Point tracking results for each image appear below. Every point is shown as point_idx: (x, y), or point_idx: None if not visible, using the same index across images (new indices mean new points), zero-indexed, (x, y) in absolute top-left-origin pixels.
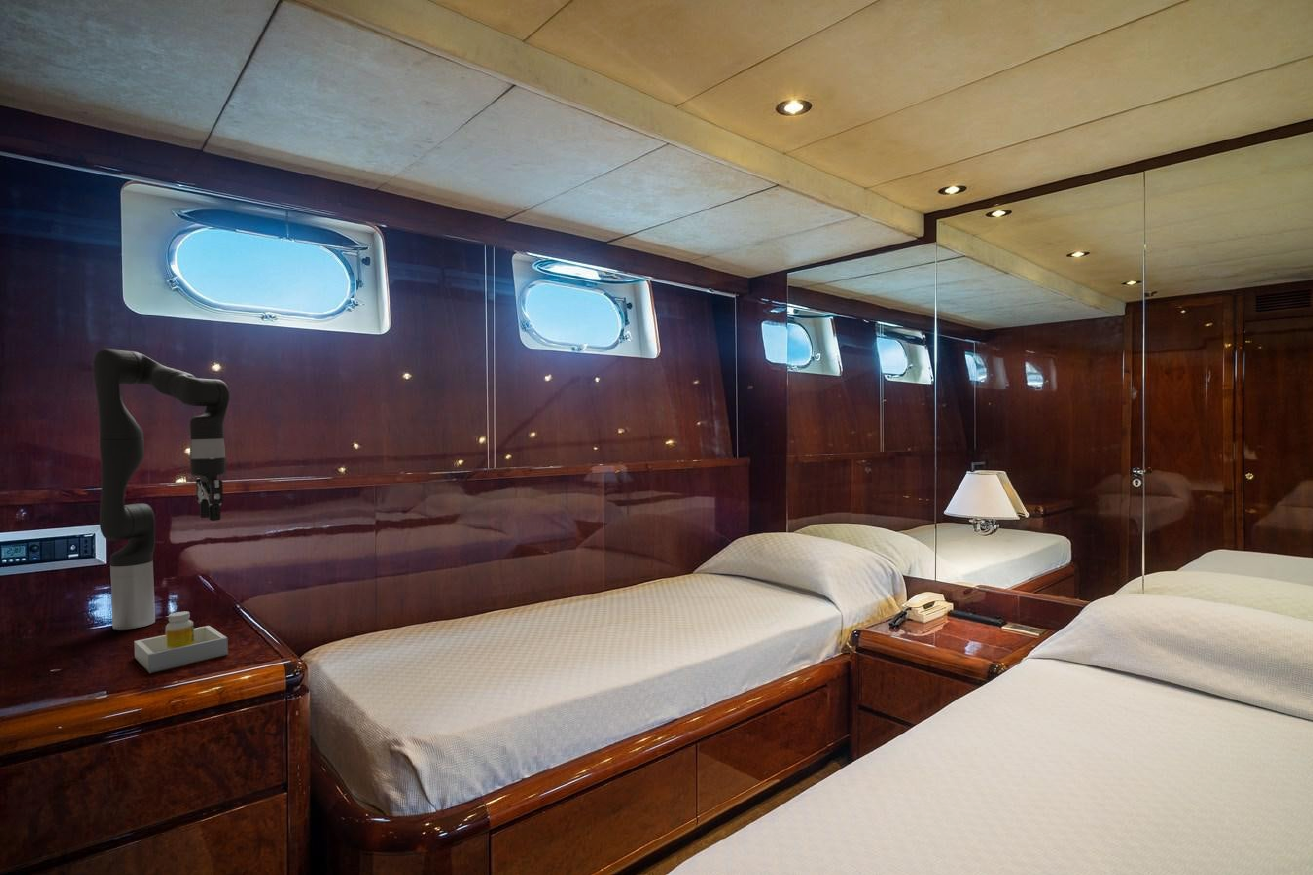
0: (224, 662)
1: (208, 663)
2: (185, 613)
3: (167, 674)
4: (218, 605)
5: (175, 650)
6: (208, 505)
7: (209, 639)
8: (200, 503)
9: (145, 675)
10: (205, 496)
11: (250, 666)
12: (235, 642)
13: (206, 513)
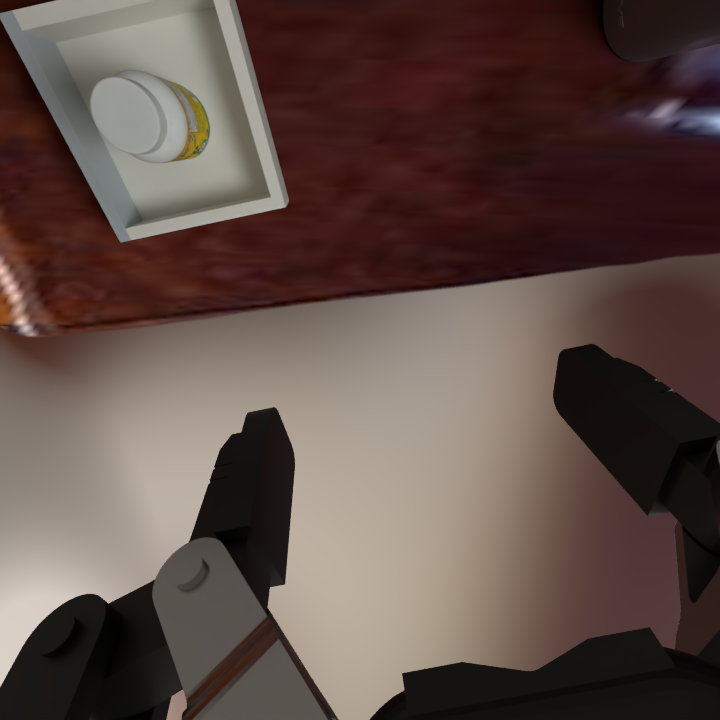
0: (72, 221)
1: (78, 186)
2: (119, 139)
3: (9, 81)
4: (652, 240)
5: (47, 103)
6: (632, 482)
7: (241, 200)
8: (715, 447)
9: None
10: (226, 696)
11: (16, 268)
12: (242, 253)
13: (579, 404)
